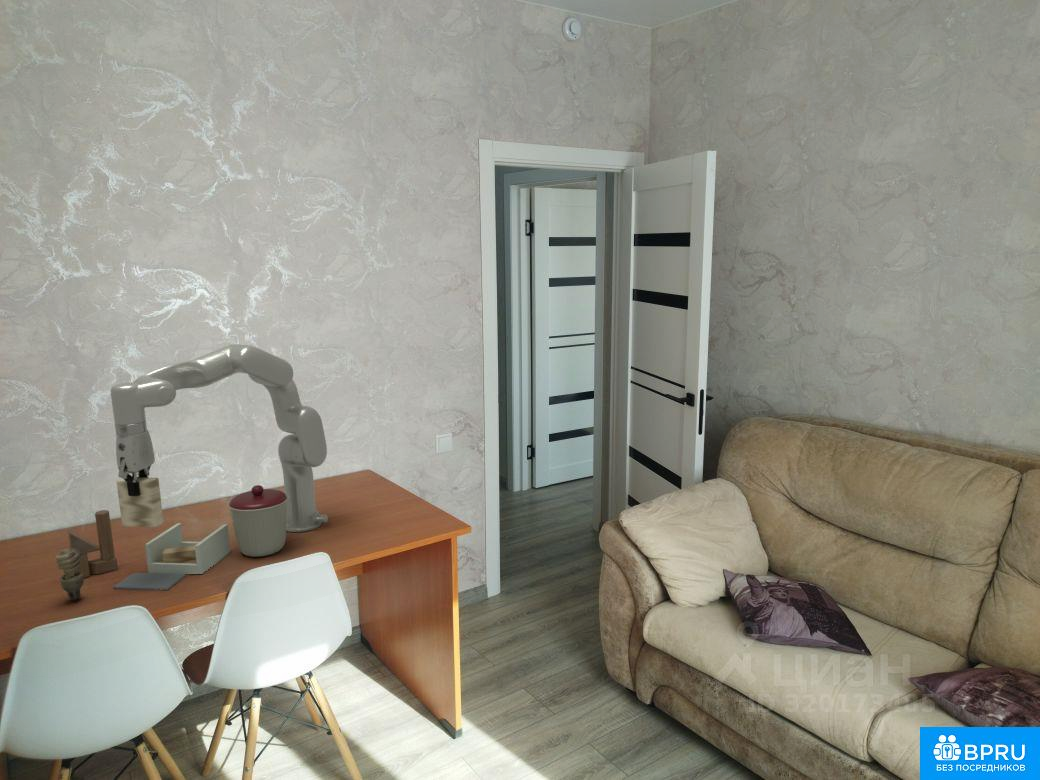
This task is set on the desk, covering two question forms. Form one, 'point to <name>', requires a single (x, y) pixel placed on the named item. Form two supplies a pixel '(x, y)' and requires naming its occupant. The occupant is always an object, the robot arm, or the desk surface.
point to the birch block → (141, 504)
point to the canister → (259, 520)
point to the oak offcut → (179, 554)
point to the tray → (205, 550)
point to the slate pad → (149, 581)
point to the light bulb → (70, 572)
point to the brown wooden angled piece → (96, 547)
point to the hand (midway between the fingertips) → (139, 492)
